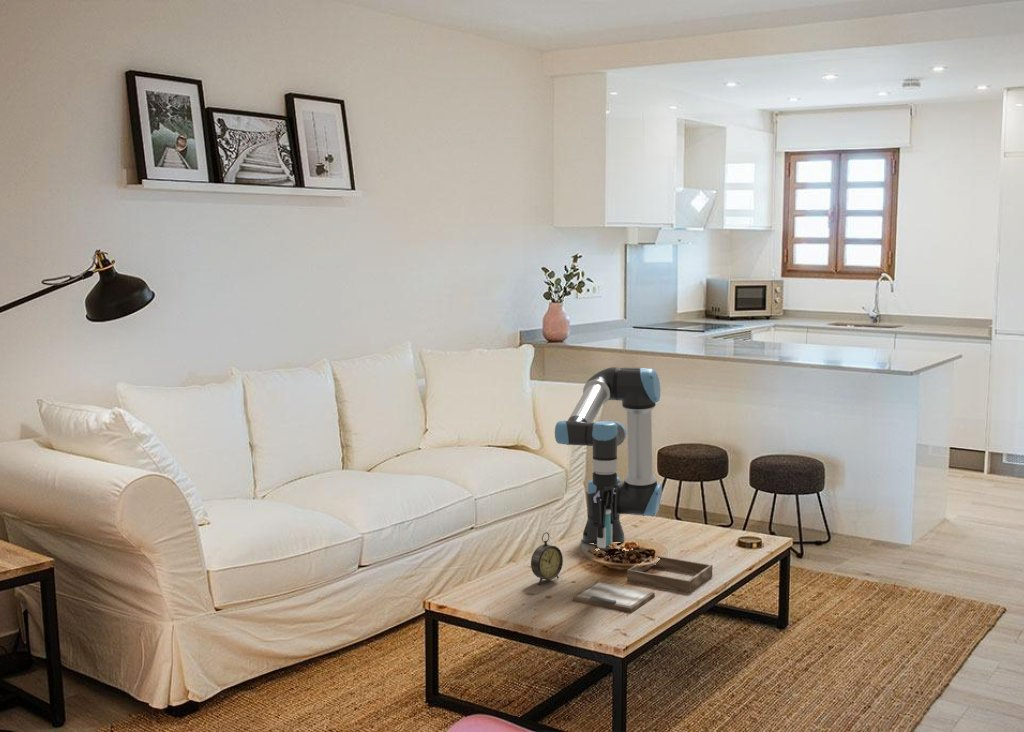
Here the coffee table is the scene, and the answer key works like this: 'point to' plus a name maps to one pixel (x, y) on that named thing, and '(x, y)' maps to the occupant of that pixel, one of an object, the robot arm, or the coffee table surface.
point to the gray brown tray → (668, 582)
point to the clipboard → (614, 596)
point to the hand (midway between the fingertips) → (604, 545)
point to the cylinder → (607, 528)
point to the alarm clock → (546, 561)
